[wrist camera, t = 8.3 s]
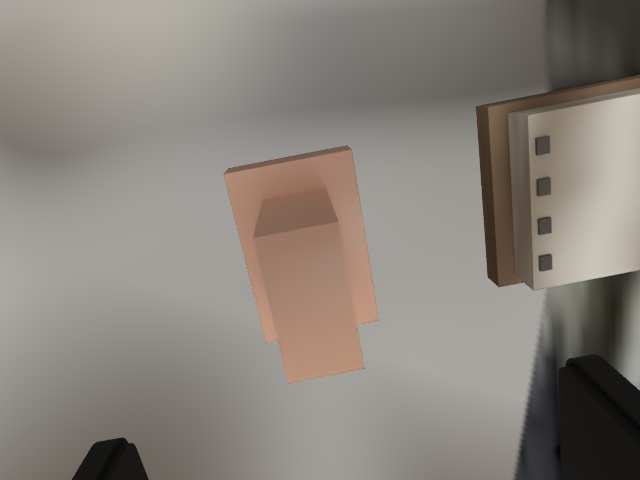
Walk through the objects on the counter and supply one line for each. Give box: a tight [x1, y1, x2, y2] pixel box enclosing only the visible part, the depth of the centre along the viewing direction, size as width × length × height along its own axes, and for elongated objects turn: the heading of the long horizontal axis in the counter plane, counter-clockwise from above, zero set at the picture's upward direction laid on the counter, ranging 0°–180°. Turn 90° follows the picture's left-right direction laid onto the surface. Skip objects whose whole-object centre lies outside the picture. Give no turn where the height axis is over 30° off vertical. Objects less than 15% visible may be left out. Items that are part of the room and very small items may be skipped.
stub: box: [224, 146, 379, 383], centre depth 20 cm, size 6×9×8 cm, turn 10°
